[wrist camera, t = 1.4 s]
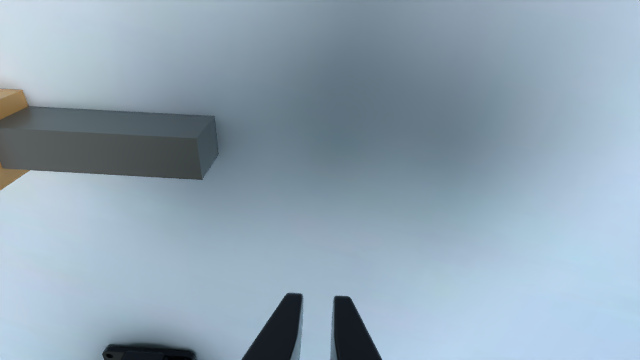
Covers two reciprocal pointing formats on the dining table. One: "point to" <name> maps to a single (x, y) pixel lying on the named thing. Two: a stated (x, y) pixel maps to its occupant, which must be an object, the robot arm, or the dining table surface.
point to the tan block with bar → (102, 141)
